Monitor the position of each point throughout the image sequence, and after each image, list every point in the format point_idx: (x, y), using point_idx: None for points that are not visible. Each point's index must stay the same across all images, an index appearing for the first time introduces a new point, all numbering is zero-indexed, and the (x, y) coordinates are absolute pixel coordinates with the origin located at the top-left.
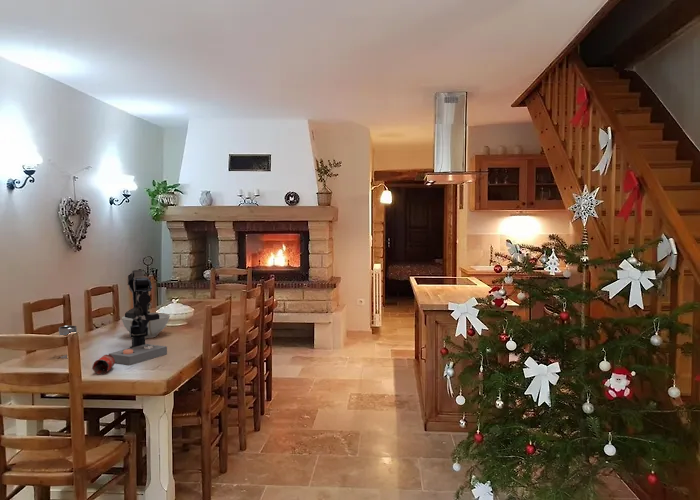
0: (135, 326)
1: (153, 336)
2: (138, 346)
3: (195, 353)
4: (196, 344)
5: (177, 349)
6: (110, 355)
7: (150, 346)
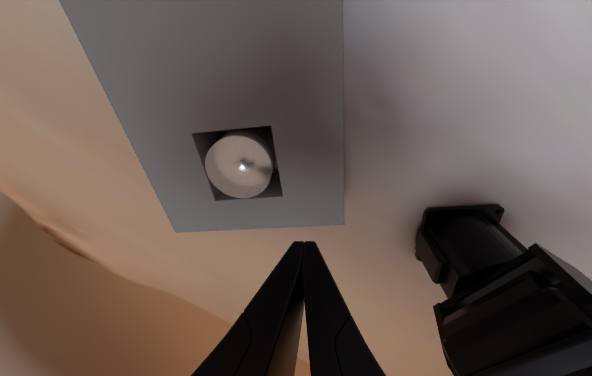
0: (566, 354)
1: None
2: (330, 149)
3: (125, 261)
4: None
5: (247, 275)
6: None
7: (220, 173)
